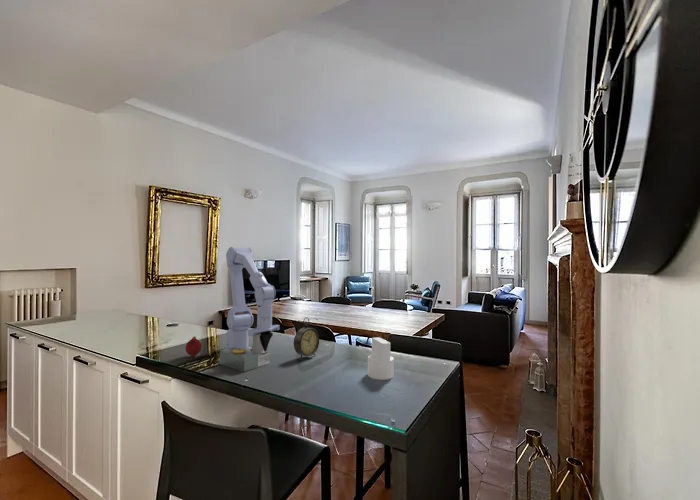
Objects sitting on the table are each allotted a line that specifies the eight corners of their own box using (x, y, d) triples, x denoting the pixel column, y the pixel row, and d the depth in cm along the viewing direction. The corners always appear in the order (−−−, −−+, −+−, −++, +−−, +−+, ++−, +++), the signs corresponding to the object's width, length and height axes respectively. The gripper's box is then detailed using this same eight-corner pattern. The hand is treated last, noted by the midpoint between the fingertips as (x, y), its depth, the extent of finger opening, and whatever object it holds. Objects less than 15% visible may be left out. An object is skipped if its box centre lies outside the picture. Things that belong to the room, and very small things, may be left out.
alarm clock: (300, 362, 130) (301, 319, 131) (290, 359, 134) (291, 318, 134) (319, 356, 139) (320, 316, 140) (310, 353, 142) (311, 314, 143)
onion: (197, 359, 131) (197, 338, 132) (182, 358, 132) (183, 338, 132) (203, 354, 137) (204, 335, 137) (189, 354, 137) (190, 334, 138)
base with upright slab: (363, 372, 120) (364, 338, 121) (386, 369, 124) (386, 336, 124) (374, 381, 112) (374, 344, 112) (398, 378, 115) (398, 342, 116)
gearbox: (219, 364, 126) (220, 348, 126) (246, 356, 136) (246, 342, 136) (244, 371, 118) (244, 355, 118) (270, 363, 128) (270, 348, 128)
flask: (270, 355, 135) (268, 331, 134) (262, 363, 128) (261, 337, 127) (252, 355, 136) (251, 330, 135) (244, 362, 129) (243, 337, 128)
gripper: (256, 320, 126) (255, 356, 126) (285, 315, 138) (284, 348, 138) (244, 318, 130) (243, 353, 130) (273, 313, 142) (272, 346, 142)
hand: (263, 351), depth 134 cm, fingers closed
